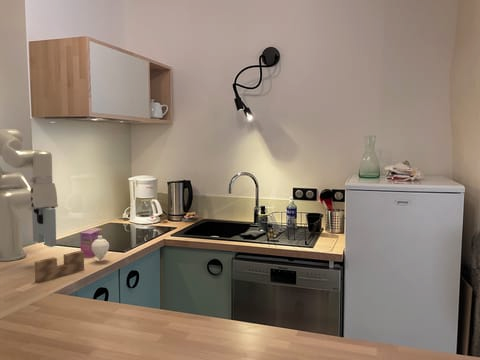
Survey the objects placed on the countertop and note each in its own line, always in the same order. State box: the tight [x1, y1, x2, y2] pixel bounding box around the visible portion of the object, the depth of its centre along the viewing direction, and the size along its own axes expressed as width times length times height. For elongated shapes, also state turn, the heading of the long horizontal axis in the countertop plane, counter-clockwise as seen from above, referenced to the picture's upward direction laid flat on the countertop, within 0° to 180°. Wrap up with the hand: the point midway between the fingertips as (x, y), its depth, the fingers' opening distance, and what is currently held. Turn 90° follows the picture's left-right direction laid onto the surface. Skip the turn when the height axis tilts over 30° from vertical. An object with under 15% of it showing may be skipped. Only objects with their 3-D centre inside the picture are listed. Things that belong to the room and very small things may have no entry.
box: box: [79, 227, 103, 259], centre depth 202 cm, size 10×6×12 cm, turn 168°
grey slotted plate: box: [31, 207, 57, 248], centre depth 182 cm, size 14×2×16 cm, turn 54°
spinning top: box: [91, 235, 110, 263], centre depth 190 cm, size 8×8×12 cm
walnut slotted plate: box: [34, 250, 85, 284], centre depth 171 cm, size 20×2×8 cm, turn 144°
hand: (43, 222), depth 181 cm, fingers closed on grey slotted plate, 2 cm apart
